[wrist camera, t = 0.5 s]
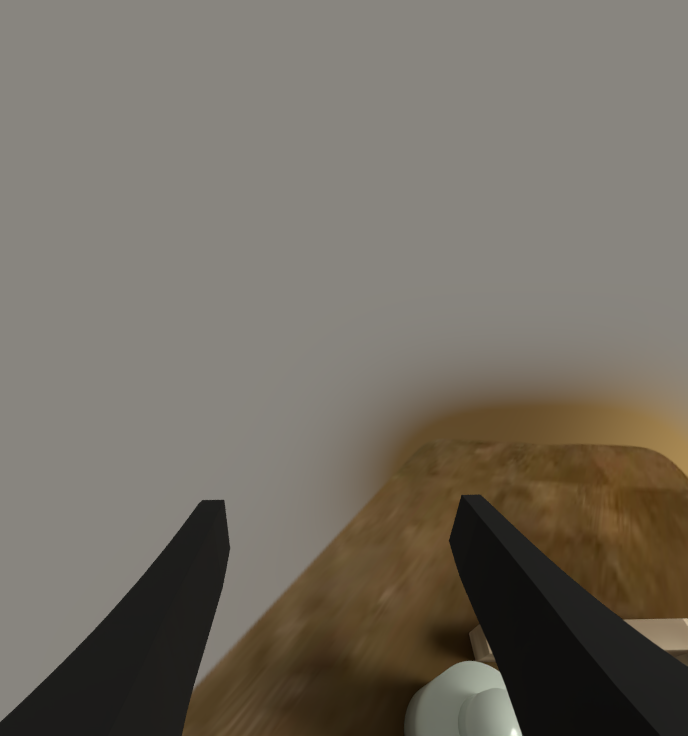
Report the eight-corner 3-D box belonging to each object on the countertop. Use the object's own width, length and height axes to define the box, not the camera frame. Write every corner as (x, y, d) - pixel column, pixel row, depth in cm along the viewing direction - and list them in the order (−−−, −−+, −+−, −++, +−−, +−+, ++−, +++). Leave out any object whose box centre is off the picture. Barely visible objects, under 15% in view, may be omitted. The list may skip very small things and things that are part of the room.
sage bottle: (493, 798, 17) (604, 834, 10) (410, 800, 17) (463, 838, 10) (468, 683, 21) (537, 649, 13) (398, 685, 21) (431, 651, 13)
